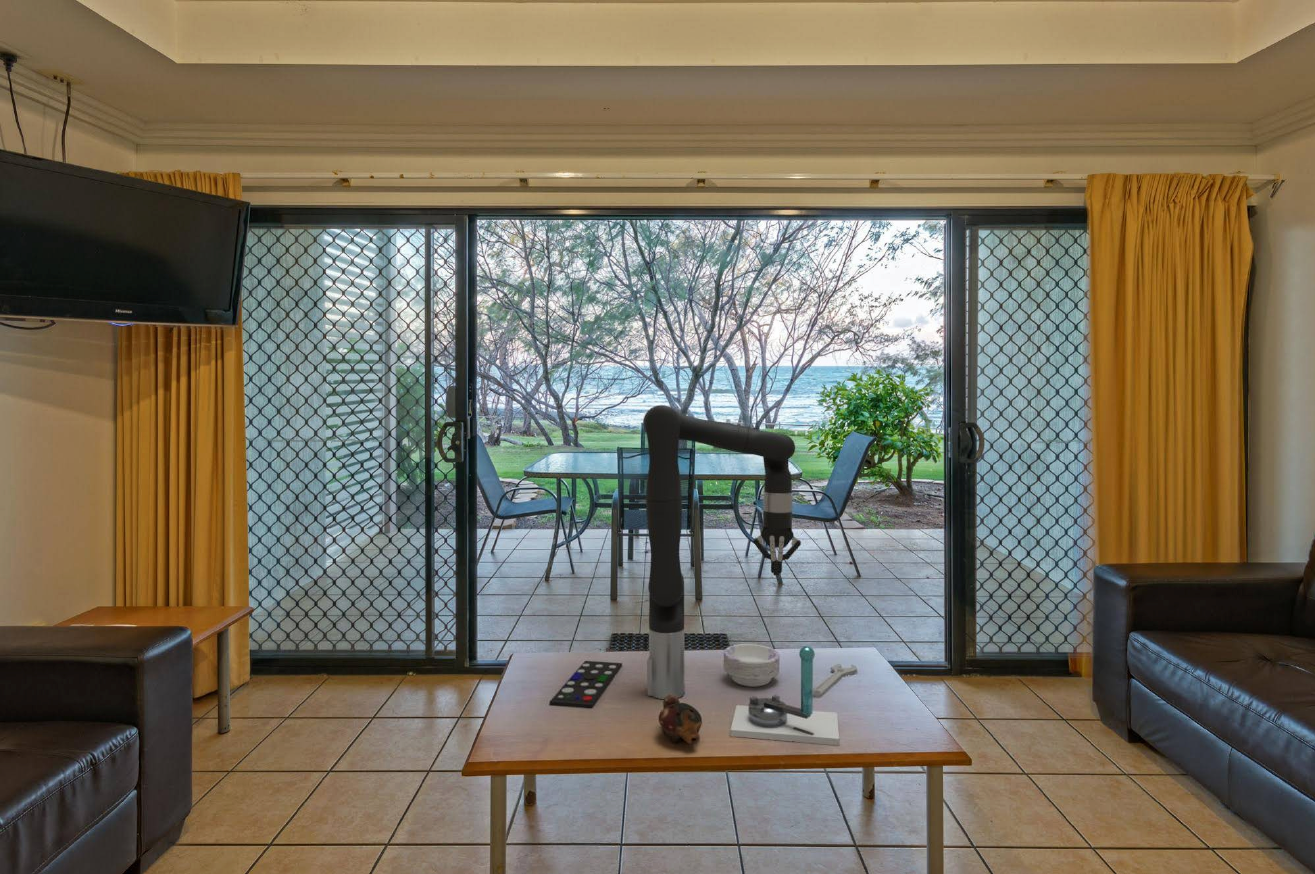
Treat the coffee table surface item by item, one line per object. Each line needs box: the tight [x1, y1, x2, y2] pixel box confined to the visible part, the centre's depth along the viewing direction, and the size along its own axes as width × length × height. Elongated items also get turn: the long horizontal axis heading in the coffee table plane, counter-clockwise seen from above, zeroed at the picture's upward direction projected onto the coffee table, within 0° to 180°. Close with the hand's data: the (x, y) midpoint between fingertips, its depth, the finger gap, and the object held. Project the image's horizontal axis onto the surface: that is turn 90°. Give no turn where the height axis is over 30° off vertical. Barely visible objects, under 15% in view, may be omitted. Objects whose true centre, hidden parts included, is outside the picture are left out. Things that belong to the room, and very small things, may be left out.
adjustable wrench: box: [813, 663, 858, 699], centre depth 201 cm, size 25×6×2 cm, turn 141°
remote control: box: [549, 660, 623, 710], centre depth 200 cm, size 11×30×2 cm, turn 168°
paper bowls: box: [723, 643, 781, 688], centre depth 201 cm, size 15×15×8 cm
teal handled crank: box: [747, 645, 816, 727], centre depth 170 cm, size 16×9×19 cm, turn 52°
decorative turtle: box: [658, 695, 703, 745], centre depth 167 cm, size 10×15×8 cm, turn 27°
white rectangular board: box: [730, 704, 840, 746], centre depth 172 cm, size 24×14×2 cm, turn 78°
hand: (776, 574), depth 194 cm, fingers closed
